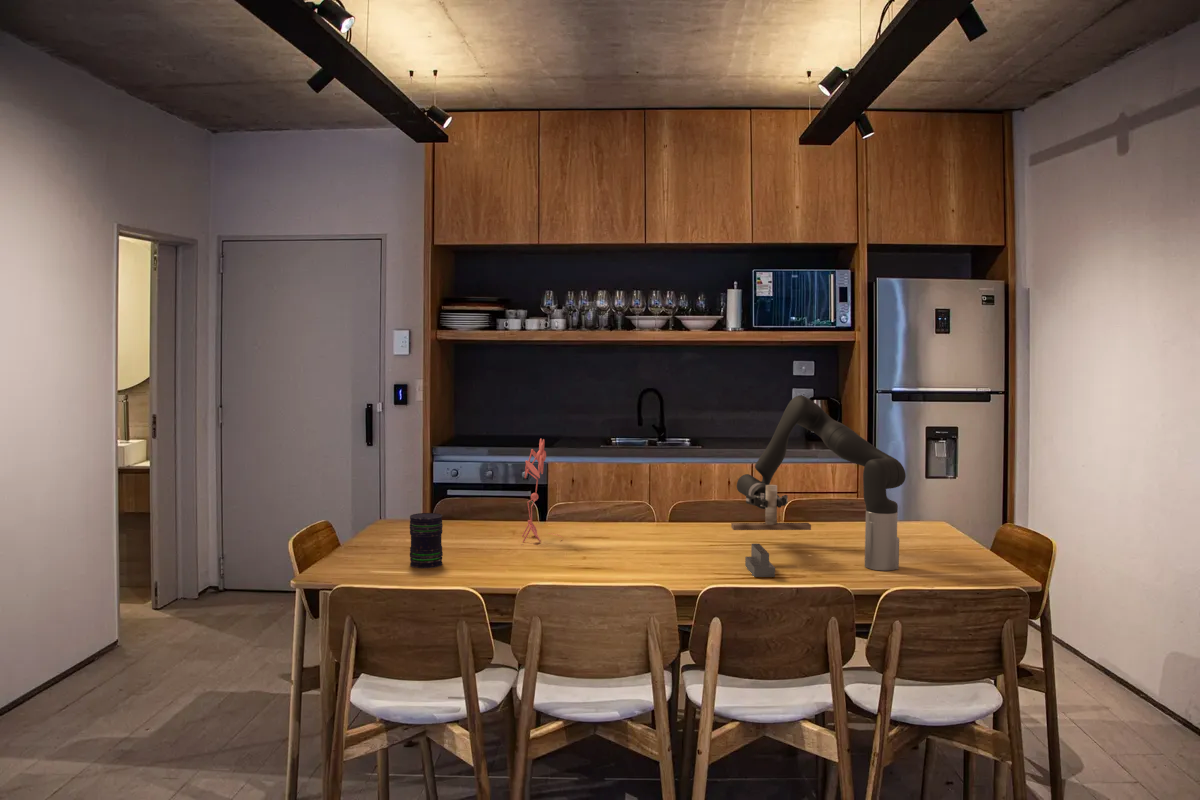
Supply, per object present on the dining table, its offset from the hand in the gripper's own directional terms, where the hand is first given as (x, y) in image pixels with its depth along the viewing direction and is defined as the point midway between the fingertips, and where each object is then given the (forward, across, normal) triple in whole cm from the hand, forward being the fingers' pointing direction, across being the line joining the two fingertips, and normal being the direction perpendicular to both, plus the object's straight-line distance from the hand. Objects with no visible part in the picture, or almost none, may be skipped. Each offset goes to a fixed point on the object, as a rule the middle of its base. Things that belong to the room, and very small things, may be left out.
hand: (773, 504), depth 283 cm
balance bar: (-3, 0, +8) cm, 9 cm away
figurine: (-36, -72, +18) cm, 83 cm away
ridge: (+10, -6, +18) cm, 22 cm away
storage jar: (+1, -106, +18) cm, 108 cm away
